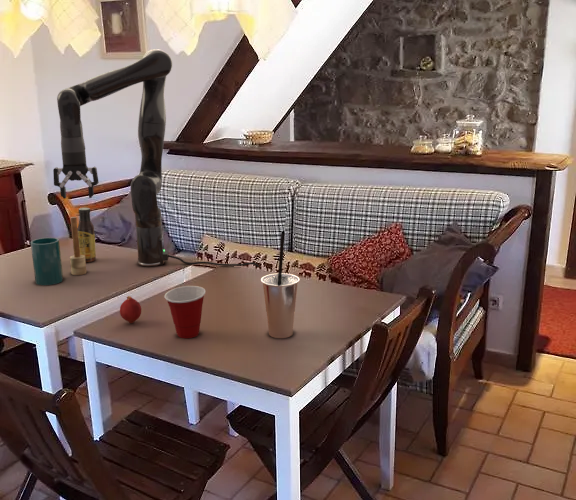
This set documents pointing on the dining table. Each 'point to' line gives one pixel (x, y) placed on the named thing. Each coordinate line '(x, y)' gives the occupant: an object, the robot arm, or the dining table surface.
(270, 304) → the metal cup with straw
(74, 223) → the wooden peg with cap
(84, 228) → the sauce bottle
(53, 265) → the teal cylindrical container
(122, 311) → the onion
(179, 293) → the plastic cup
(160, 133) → the robot arm
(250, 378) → the dining table surface
